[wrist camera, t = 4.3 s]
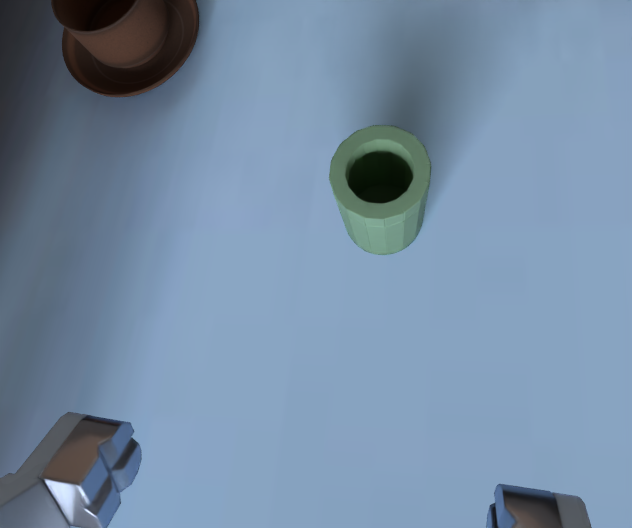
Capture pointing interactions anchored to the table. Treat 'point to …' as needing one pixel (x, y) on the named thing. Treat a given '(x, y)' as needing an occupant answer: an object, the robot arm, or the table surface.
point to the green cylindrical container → (381, 187)
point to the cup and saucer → (126, 42)
